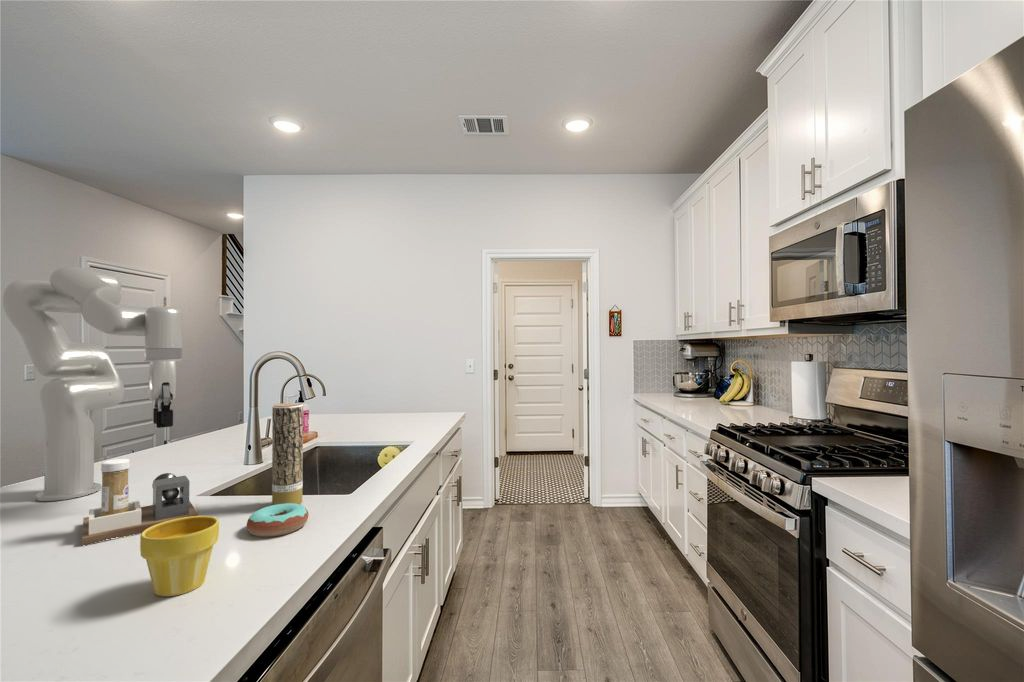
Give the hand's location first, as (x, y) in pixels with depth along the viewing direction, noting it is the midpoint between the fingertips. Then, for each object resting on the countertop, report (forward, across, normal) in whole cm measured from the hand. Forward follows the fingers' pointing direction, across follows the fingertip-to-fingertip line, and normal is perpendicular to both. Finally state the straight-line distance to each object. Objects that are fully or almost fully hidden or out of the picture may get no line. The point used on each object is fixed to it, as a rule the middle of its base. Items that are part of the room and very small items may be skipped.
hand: (162, 424), depth 114 cm
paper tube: (+20, +24, +23) cm, 38 cm away
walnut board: (+20, +14, -5) cm, 24 cm away
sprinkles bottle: (+18, +15, -9) cm, 26 cm away
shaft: (+16, +11, 0) cm, 20 cm away
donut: (+20, +38, +17) cm, 46 cm away
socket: (+18, +16, -9) cm, 26 cm away
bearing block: (+18, +16, 0) cm, 25 cm away
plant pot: (+20, +53, -2) cm, 57 cm away
